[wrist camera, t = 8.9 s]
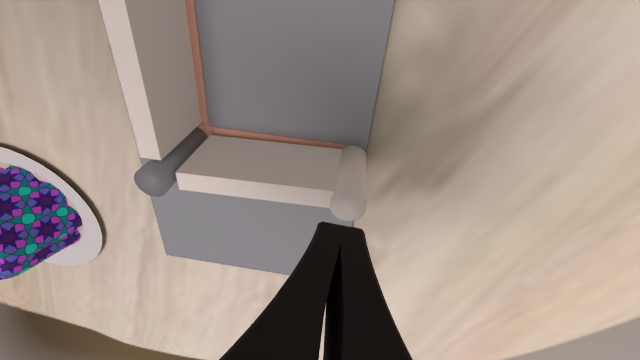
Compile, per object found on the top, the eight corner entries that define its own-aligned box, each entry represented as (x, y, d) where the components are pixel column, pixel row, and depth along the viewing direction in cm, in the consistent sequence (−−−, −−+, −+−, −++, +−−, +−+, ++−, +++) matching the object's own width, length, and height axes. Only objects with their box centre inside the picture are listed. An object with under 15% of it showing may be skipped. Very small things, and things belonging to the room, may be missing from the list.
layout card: (74, -114, 14) (64, -117, 13) (409, -84, 13) (410, -85, 12) (168, 251, 26) (165, 255, 26) (341, 279, 25) (341, 284, 25)
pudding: (21, 116, 21) (-70, 156, 17) (138, 246, 27) (93, 300, 22) (-79, 163, 25) (-174, 205, 20) (43, 268, 30) (-11, 318, 26)
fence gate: (213, 154, 19) (176, 199, 16) (209, 130, 18) (169, 171, 15) (364, 171, 19) (363, 223, 15) (368, 147, 18) (367, 195, 14)
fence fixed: (145, -81, 14) (52, -98, 10) (182, -77, 13) (103, -93, 10) (185, 147, 20) (138, 194, 16) (210, 151, 20) (170, 199, 16)
